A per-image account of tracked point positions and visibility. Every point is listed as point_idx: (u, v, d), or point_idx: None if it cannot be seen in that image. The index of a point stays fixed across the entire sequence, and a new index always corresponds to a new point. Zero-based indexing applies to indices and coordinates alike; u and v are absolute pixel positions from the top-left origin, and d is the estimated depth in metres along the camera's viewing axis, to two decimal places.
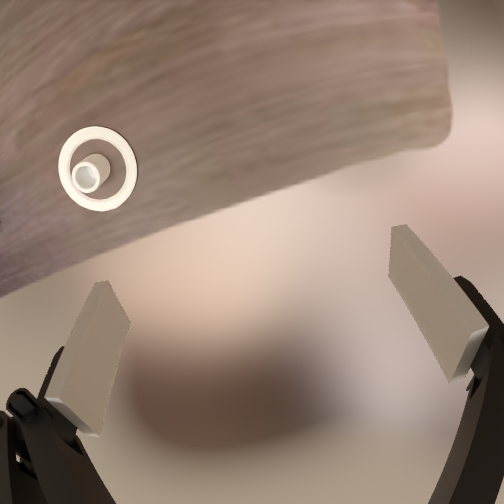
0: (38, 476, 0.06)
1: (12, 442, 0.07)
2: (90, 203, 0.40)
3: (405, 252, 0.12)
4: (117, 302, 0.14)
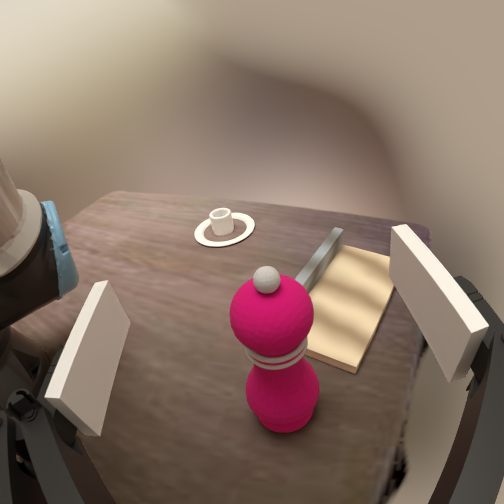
0: (38, 476, 0.06)
1: (12, 442, 0.07)
2: (248, 220, 0.64)
3: (405, 252, 0.12)
4: (117, 302, 0.14)
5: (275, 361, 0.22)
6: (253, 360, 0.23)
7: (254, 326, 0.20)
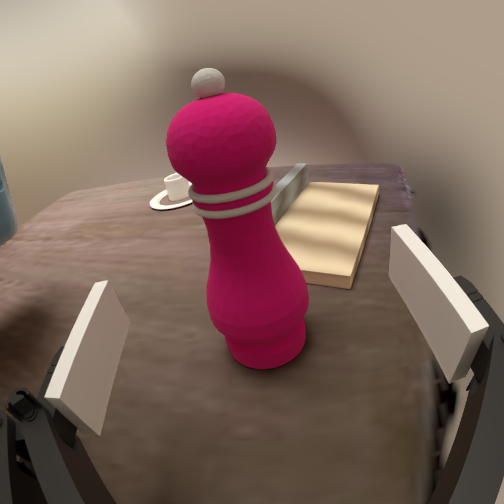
0: (38, 476, 0.06)
1: (12, 442, 0.07)
2: None
3: (405, 252, 0.12)
4: (117, 302, 0.14)
5: (232, 196, 0.16)
6: (203, 211, 0.17)
7: (194, 125, 0.14)
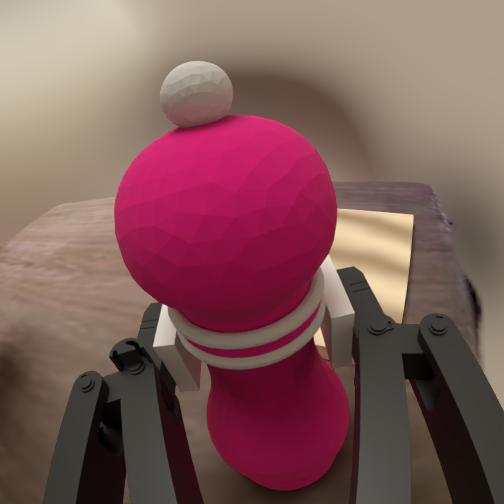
0: (125, 437, 0.07)
1: (100, 411, 0.08)
2: None
3: None
4: None
5: (251, 342, 0.08)
6: (196, 351, 0.09)
7: (162, 207, 0.06)
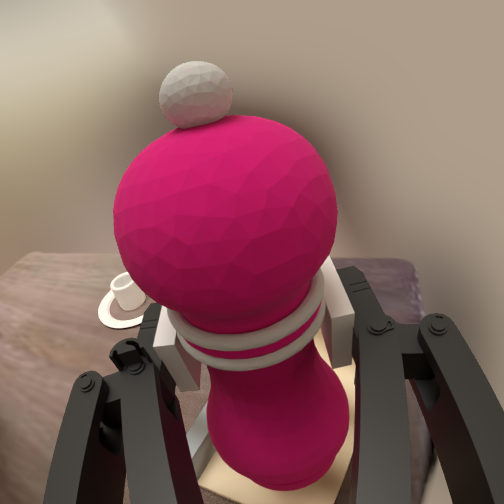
0: (125, 437, 0.07)
1: (100, 411, 0.08)
2: None
3: None
4: None
5: (250, 343, 0.08)
6: (195, 352, 0.09)
7: (161, 208, 0.06)
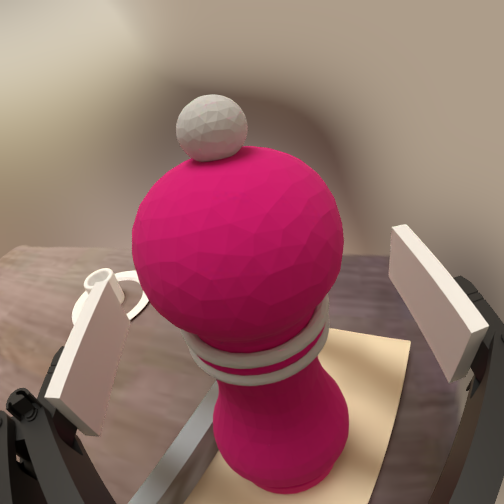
0: (38, 476, 0.06)
1: (12, 442, 0.07)
2: None
3: (405, 252, 0.12)
4: (117, 302, 0.14)
5: (262, 362, 0.08)
6: (208, 368, 0.10)
7: (183, 245, 0.06)
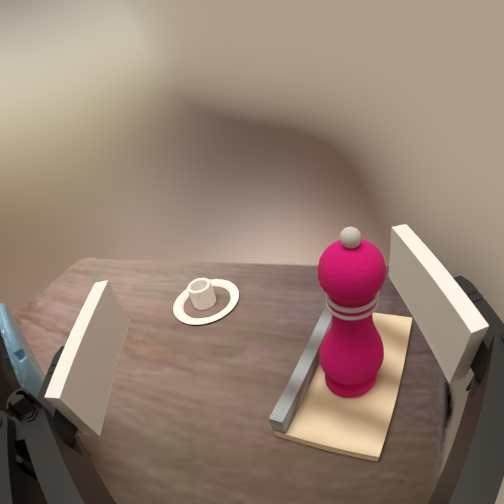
0: (38, 476, 0.06)
1: (12, 442, 0.07)
2: (231, 287, 0.57)
3: (405, 252, 0.12)
4: (117, 302, 0.14)
5: (361, 309, 0.26)
6: (340, 315, 0.27)
7: (350, 274, 0.24)
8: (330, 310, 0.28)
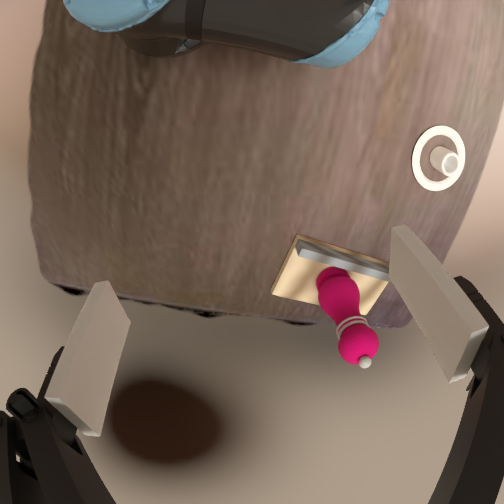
0: (38, 476, 0.06)
1: (12, 442, 0.07)
2: (449, 181, 0.48)
3: (405, 252, 0.12)
4: (117, 302, 0.14)
5: (338, 337, 0.45)
6: (341, 324, 0.45)
7: (345, 352, 0.42)
8: (347, 319, 0.45)
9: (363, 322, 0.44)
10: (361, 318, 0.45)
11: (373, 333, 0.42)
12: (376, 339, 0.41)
